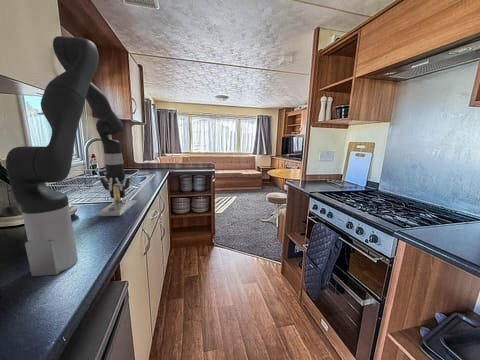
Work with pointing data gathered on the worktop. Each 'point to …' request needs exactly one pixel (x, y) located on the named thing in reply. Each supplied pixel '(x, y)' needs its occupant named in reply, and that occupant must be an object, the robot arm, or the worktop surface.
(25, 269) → the worktop surface
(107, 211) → the grey flat block
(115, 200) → the pin
